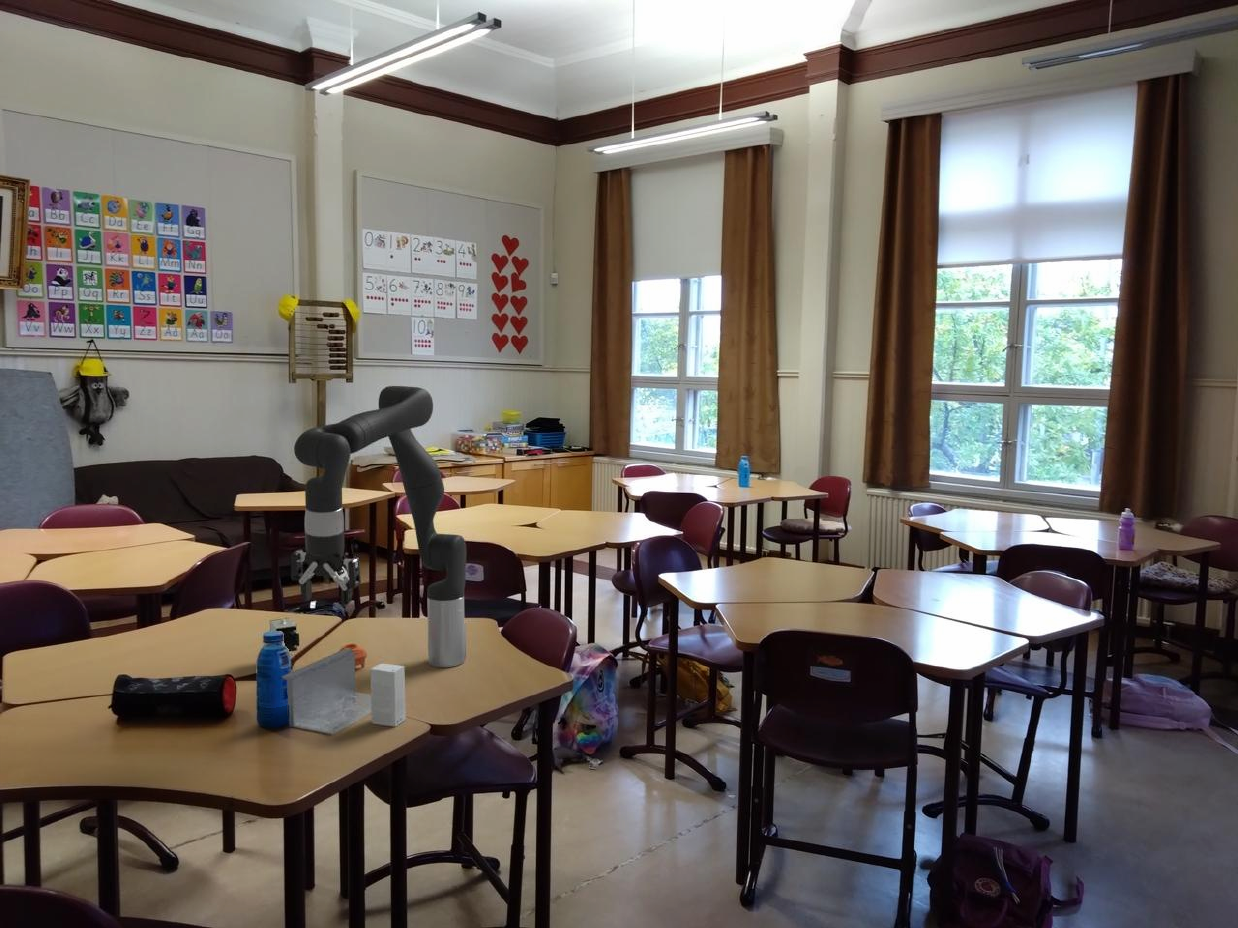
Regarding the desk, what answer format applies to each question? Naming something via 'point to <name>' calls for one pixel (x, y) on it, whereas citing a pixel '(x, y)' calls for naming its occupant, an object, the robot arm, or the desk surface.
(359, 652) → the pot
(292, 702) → the bracket
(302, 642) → the desk surface
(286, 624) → the pneumatic valve
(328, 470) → the robot arm
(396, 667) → the skincare box
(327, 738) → the desk surface
